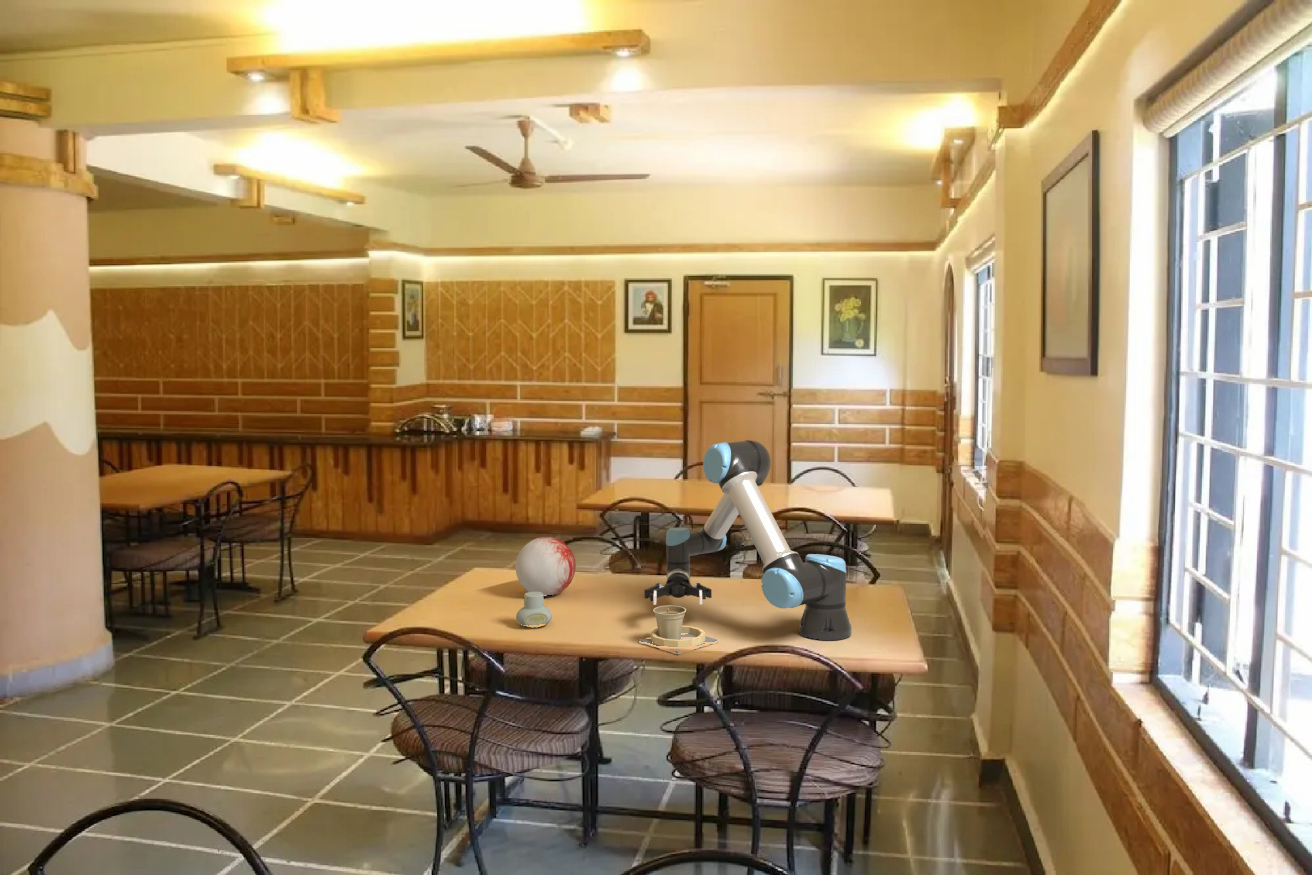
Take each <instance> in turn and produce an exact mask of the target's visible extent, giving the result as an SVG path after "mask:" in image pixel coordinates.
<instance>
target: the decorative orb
mask: <svg viewBox="0 0 1312 875" xmlns="http://www.w3.org/2000/svg"><path fill="white" fill-rule="evenodd" d="M576 565H577V564H576V559H575V555H574V553H573V551H572V549H571V548H570V547H569V546H568V545H567V544H566V543H565V542H564V541H562V540H560V539H559V538H555V537H552V536H542V537H537V538H535V539H532V540H530V541H529V542H527V543H526V544H525V545H524V546H523V547H522V548H521V549H520V550H519V553H517V556H516V560H515V574H516V578H517V580H518V582H519V583H520V585H521V586H522V588H523V589H524V590H526V591H527V592H542V593H543V595H552V596H555V595H554V594H556V595H558V594H560V593H562V592H563V591H565V589H567V588H568V587H569V585H570V584H571V582H572V581H573V579H574V577H575V574H576V567H577V566H576Z"/></svg>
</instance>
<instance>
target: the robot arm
mask: <svg viewBox="0 0 1312 875" xmlns="http://www.w3.org/2000/svg"><path fill="white" fill-rule="evenodd" d="M702 464H703V466H702V467H703V473H704V476H705V478H706V479H707V481H709V483H710V482H711V483H712V484H718V486H719V488H720V490H721V492H722V493H723V494H722V496H721V498H720V499H719V500H718V502H717V504H716V505H715V508H714V509H713V511H712V512H711V514H710V515H709V517H708V519H707V520H706V522H705V523H704V525H703V526H702V528H701V530H698V531H691V532H690V530H689V528H687V527H670V528H669V529H667V531H666V537H665V546H666V581H665V584H664V585H662V584H660V583H658V582H657V583H655V584H654V585H653V586H650V587H648V588H646V589H644V590H643V591H644V599H645V600H647V599H649V600H650V602H653V606H657V600H658V598H660V597H665V596H666V597H670V596H671V597H672V598H677V599H680V598H683V597H685V596H687V597H690V596H693V597H696V598H699V599H698V600H699V605H703V600H707V598H708V599H712V588H709V587H707V586H705V585H702V584H701V583H700V582H697V583H696V584H694V585H692V584H691V569H690V568H691V566H690V565H691V556H697V555H701V554H703V555H704V554H708V553H716V552H718V551H719V552H720V551H721V550H723V549H724V548H725V547H726V546H727V535H726V534H727V533H728V531H729V530H730V528H731V527H732V525H733V523H734V522H735V520H736V519H737V517H738V516H739V517H740V519H741V520H742V522H743V524H744V526H745V529H746V530H747V533H748V534H749V537H750V538H751V540H752V542H753V545H754V546H755V549H756V551H757V552H758V555H759V556H760V559H761V561H762V562H763V567H762V569H761V572H762V574H763V575H762V577H761V580H760V581H761V583H762V585H761V589H762V590H761V591H762V593H763V595H764V597H765V599H766V601H768V602H769V603H770V604H771V605H772V606H774V607H776V608H779V609H794V608H797V607H800V606H803V605H805V606H804V607H805V608H804V610H803V613H802V616H801V619H800V622H799V628H798V629H799V630H798V631H799V634H800V635H801V636H802V637H805V638H807V637H809V638H808V639H811V638H813V639H812V640H816V639H819V640H818V641H839V640H844V639H847V638H849V637H851V636H852V625H851V622H850V618H849V615H848V611H847V608H846V603H847V602H846V601H847V598H846V597H847V595H846V594H847V569H846V568H847V567H846V566H847V565H846V564H847V563H846V561H845V560H844V559H843V558H842V557H838V556H835V555H829V554H820V553H816V554H815V553H814V554H813V553H808V554H807V555H805V558H804V561H805V562H803V559H802V558H801V556H800V554H799V553H798V552H797V551H794V550H791V548H790V546H789V544H788V542H787V540H786V538H785V537H784V535H783V533H782V531H781V529H780V527H779V525H778V522H777V521H776V519H775V517H774V515H773V512H772V511H771V509H770V507H769V506H768V504H767V502H766V499H765V498H764V496H763V494H762V492H761V490H760V488H759V487H761V486H762V485H764V484H763V483H765V481H766V479H767V478H768V476H769V473H770V470H771V465H772V458H771V455H770V452H769V450H768V448H766V446H764V444H762V443H761V442H759V441H756V440H751V439H748V440H739V441H728V442H726V441H724V442H723V441H722V442H720V443H714V444H712V445H710V446H709V447H708V448H707V450H706V451H705V454H704V457H703V463H702Z"/></svg>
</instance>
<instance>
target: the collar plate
mask: <svg viewBox="0 0 1312 875" xmlns="http://www.w3.org/2000/svg"><path fill="white" fill-rule="evenodd" d="M681 633H688V634H685V635H681V637H694V638H691V639H681V640H674V639H665V638H661V637H659V634H658V627H657V628H654V629H653V630H652V631H651V632H650V636H649V637H651V639H645V638H646V637H644V638H640V639H638V642H639V641H641V642H647V643H650V644H653V645H656V646H668V647H687V646H699V645H702V644H705V643H703V642H715V641H717V640H718V639H717V638H714V637H709V636H706V632H705V631H704V630H703V629H702V628H699V627H696V626H691V625H682V631H681ZM652 642H653V643H652ZM670 650H673V651H675V649H670ZM676 650H677V651H675V652H676V653H679V652H680V649H676Z"/></svg>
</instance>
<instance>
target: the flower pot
mask: <svg viewBox="0 0 1312 875" xmlns="http://www.w3.org/2000/svg"><path fill="white" fill-rule="evenodd" d="M652 612H653V613H654V617H655V619H656V626H657V628H658V634H659V637H661V638H665V639H674V640H680V639H681V631H682V626H683V622H684V617H685V613H686V612H687V608H685V607H683V606H680V605H671V604H670V605H660V606H657V607H655V608H653V610H652Z"/></svg>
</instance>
